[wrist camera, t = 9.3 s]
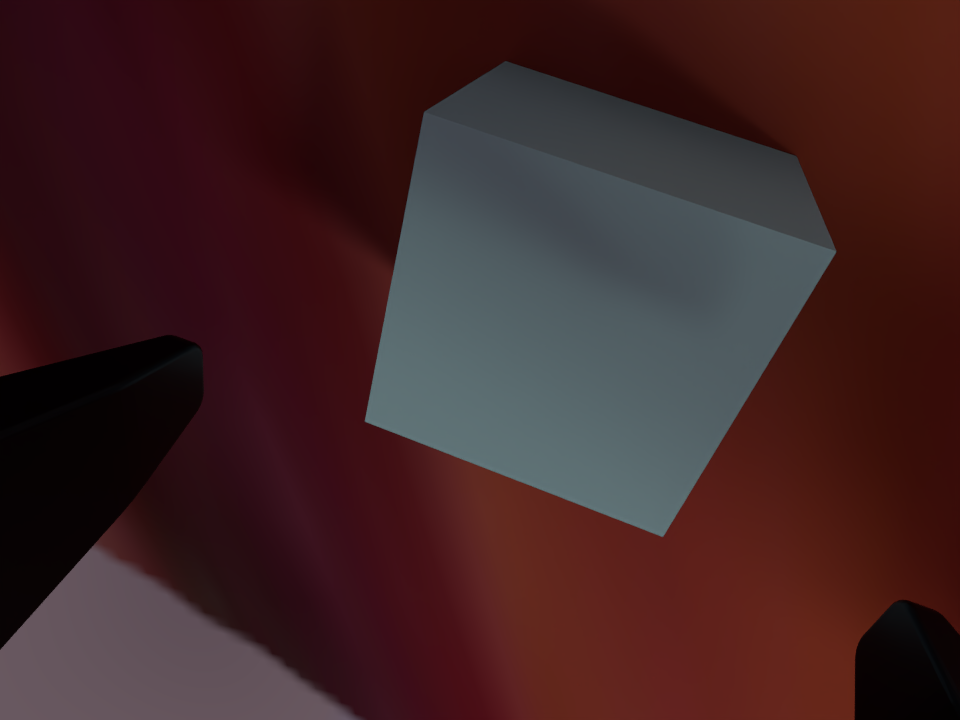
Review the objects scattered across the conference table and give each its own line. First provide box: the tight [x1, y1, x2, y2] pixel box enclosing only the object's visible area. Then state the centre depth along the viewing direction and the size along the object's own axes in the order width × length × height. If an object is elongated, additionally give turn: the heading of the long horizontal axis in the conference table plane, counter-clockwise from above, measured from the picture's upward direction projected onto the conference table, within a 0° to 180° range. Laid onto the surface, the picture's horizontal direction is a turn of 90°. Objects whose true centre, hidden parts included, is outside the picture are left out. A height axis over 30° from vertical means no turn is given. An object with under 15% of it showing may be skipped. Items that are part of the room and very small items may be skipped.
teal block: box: [365, 61, 837, 537], centre depth 13 cm, size 6×6×5 cm
